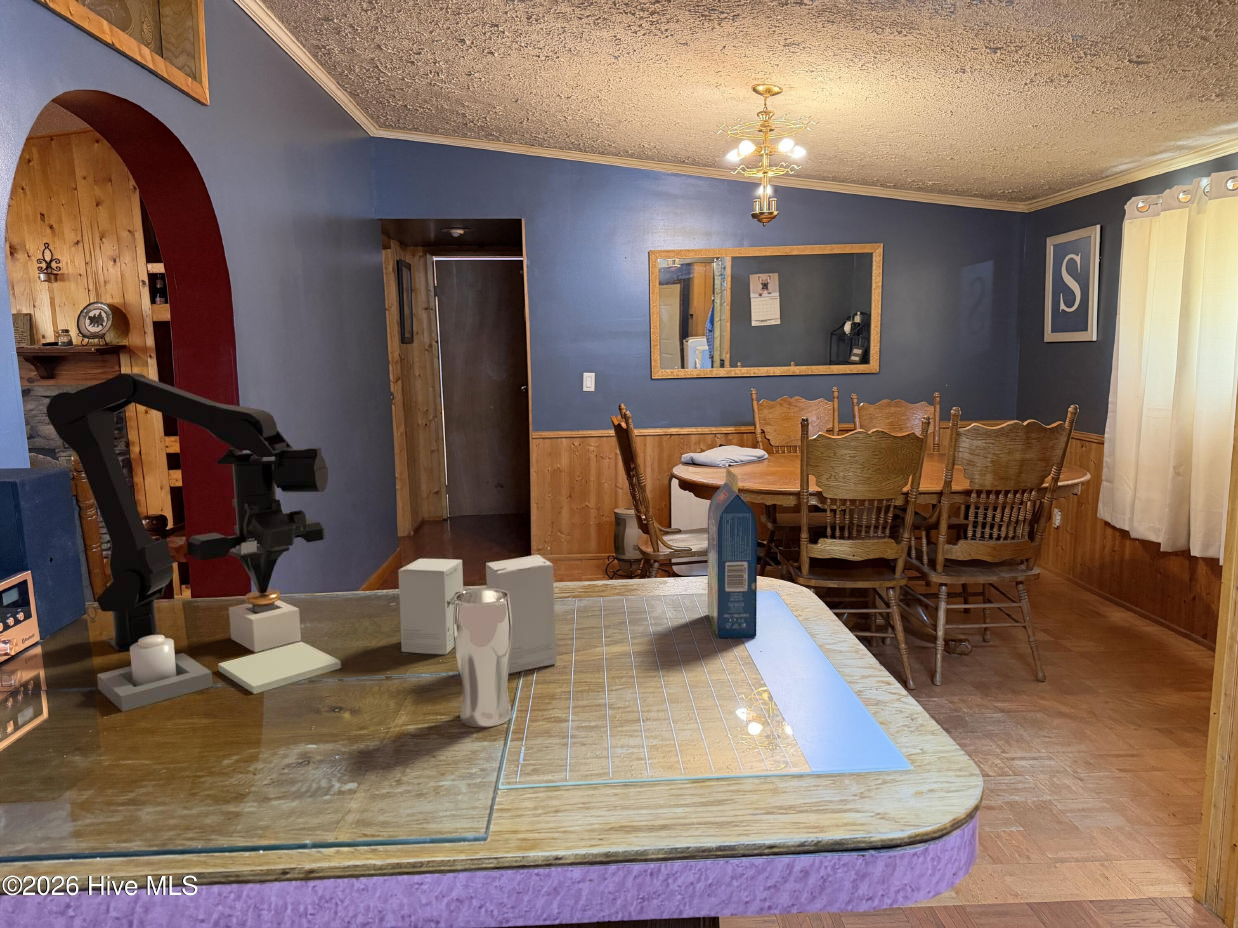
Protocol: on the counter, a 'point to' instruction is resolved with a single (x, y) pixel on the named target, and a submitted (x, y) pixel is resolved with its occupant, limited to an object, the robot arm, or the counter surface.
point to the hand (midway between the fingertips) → (262, 593)
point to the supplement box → (428, 604)
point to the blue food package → (732, 562)
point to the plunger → (262, 600)
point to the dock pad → (278, 667)
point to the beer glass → (483, 654)
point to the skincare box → (528, 609)
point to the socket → (154, 684)
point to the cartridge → (152, 659)
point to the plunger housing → (264, 626)
